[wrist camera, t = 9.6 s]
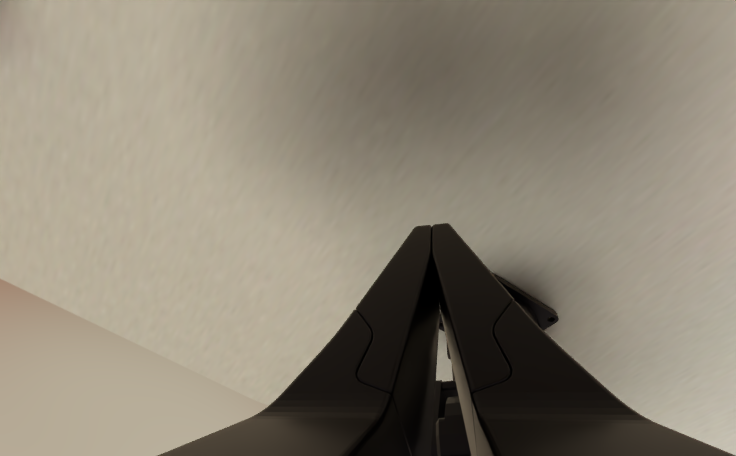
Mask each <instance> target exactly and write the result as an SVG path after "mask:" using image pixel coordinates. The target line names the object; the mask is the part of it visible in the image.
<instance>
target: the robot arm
mask: <svg viewBox="0 0 736 456" xmlns="http://www.w3.org/2000/svg"><path fill="white" fill-rule="evenodd" d="M439 302H440V303H439ZM440 309H441V314H440ZM557 321H558V316H557V313H556V312H555V311H553V310H552V309H550V308H548V307H547V306H545V305H543V304H542V303H540V302H539V301H537V300H535V299H534V298H532V297H531V296H529V295H527V294H526V293H524V292H522V291H521V290H519V289H518V288H516V287H514V286H513V285H511V284H509V283H508V282H506V281H505V280H503V279H501V278H500V277H498V276H496V275H493V274H492V273H491V272H490V271H489V270H488V268H487V267H486V266H485V265H484V264H483V263H482V261H481V260H480V259H479V258H478V257H477V256H476V255H475V253H474V252H473V251H472V250H471V249H470V248H469V246H468V245H467V244H466V243H465V242H464V241H463V239H462V238H461V237H460V236H459V235H458V234H457V233H456V231H455V230H454V229H453V228H452V227H451V226H450V225H449V224H448V223H444V224H435V225H433V226H432V227H431V226H430V225H425V226H417V227H415V228H414V229H413V230H412V232H411V233H410V235H409V236H408V237H407V239H406V240H405V241H404V243H403V244H402V245H401V247H400V248H399V250H398V251H397V252H396V254H395V255H394V256H393V258H392V259H391V261H390V262H389V263H388V265H387V266H386V267H385V269H384V270H383V271H382V273H381V274H380V276H379V277H378V278H377V280H376V281H375V282H374V284H373V285H372V286H371V288H370V289H369V291H368V292H367V293H366V295H365V296H364V297H363V299H362V300H361V302H360V303H359V304H358V306H357V307H356V310H354V311H353V312H352V314H351V315H350V316H349V318H348V319H347V320H346V322H345V323H344V324H343V326H342V327H341V328H340V329H339V331H338V332H337V333H336V335H335V336H334V337H333V338H332V339H331V340H330V342H329V343H328V344H327V345H326V346H325V347H324V348H323V350H322V351H321V352H320V353H319V354H318V355H317V356H316V357H315V358H314V359H313V361H312V362H311V363H310V364H309V365H308V366H307V367H306V368H305V369H304V370H303V371H302V372H301V374H300V375H299V376H298V377H297V378H296V379H295V380H294V381H293V382H292V383H291V384H290V385H289V387H288V388H287V389H286V390H285V391H284V392H283V393H282V394H281V395H280V396H279V397H278V398H277V399H276V400H275V401H274V402H273V403H272V404H270V405H269V406H268V407H267V408H265V409H264V410H263V411H261V412H260V413H258V414H256V415H255V416H253V417H251V418H249V419H246V420H244V421H241V422H239V423H237V424H234V425H232V426H229V427H227V428H224V429H222V430H219V431H217V432H215V433H212V434H209V435H207V436H205V437H202V438H200V439H197V440H195V441H192V442H190V443H187V444H185V445H183V446H180V447H178V448H175V449H173V450H170V451H168V452H165V453H163V454H161V455H158V456H735V455H733V454H730V453H728V452H725V451H723V450H721V449H718V448H716V447H713V446H711V445H708V444H706V443H703V442H701V441H699V440H696V439H694V438H691V437H689V436H686V435H684V434H681V433H679V432H677V431H674V430H672V429H669V428H667V427H664V426H662V425H660V424H657V423H655V422H653V421H651V420H649V419H647V418H645V417H644V416H642V415H640V414H639V413H637V412H636V411H634V410H633V409H631V408H630V407H628V406H627V405H626V404H624V403H623V402H622V401H620V400H619V399H618V398H617V397H616V396H614V395H613V394H612V393H611V392H610V391H609V390H608V389H606V388H605V387H604V386H603V385H602V384H601V383H600V382H599V381H598V380H596V379H595V378H594V377H593V376H592V375H591V374H590V373H589V372H588V371H586V370H585V369H584V368H583V367H582V366H581V365H580V364H579V363H578V362H576V361H575V360H574V359H573V358H572V357H571V356H570V355H569V354H568V353H566V352H565V351H564V350H563V349H562V348H561V347H560V346H559V345H558V344H557V343H555V342H554V341H553V340H552V339H551V338H550V337H549V336H548V335H547V334H546V333H545V332H544V331H543V330H545V329H546V328H548V327H550V326H551V325H553V324H555V323H556V322H557ZM441 322H442V323H441ZM439 329H441V330H443V331H444V332H445V334H446V339H447V354H448V358H449V359H451V362H452V373H453V381H444V382H442V380H440V381H436V365H437V349H438V333H439Z"/></svg>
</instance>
